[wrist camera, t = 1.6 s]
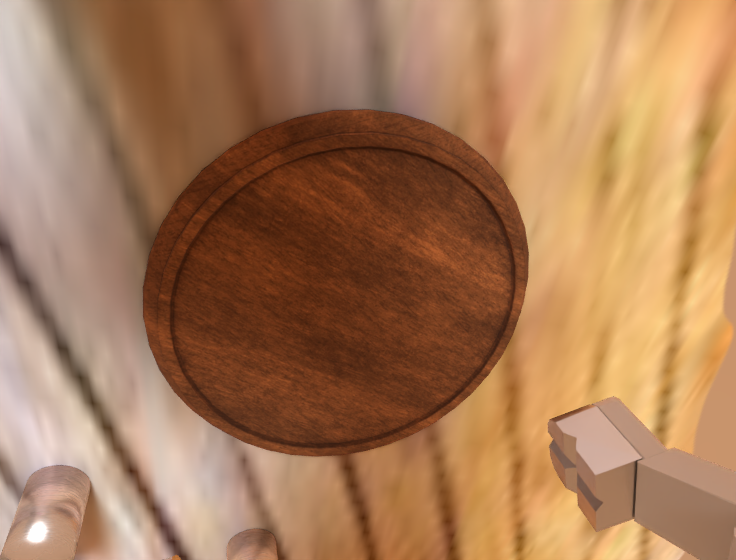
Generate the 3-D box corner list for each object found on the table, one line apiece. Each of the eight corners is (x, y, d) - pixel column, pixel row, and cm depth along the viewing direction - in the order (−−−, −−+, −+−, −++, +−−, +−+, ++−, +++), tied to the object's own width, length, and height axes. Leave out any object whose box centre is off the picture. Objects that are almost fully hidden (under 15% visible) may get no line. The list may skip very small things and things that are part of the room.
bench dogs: (44, 457, 46) (19, 529, 41) (285, 536, 58) (293, 601, 52) (15, 496, 48) (-13, 571, 42) (257, 565, 60) (262, 632, 54)
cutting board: (396, 476, 59) (403, 495, 56) (78, 388, 45) (71, 410, 42) (593, 225, 49) (610, 237, 47) (267, 12, 35) (271, 15, 33)
